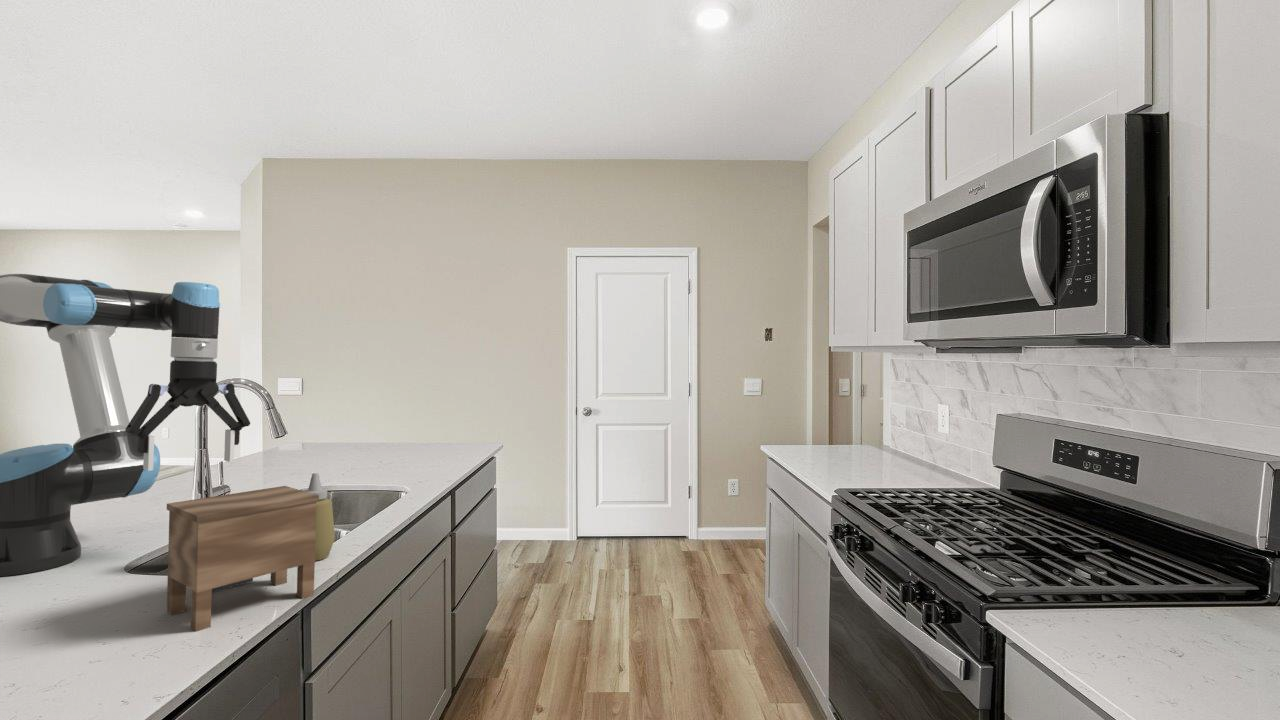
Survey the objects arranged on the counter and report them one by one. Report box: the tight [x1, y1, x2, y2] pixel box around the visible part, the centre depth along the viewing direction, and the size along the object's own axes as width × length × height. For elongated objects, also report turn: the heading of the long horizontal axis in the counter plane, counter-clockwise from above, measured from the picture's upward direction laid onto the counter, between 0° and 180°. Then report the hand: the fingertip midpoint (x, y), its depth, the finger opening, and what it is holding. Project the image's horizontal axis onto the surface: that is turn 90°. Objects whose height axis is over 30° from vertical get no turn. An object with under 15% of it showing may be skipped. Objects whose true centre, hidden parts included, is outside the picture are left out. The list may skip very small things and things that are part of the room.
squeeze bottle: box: [304, 472, 336, 562], centre depth 126 cm, size 8×8×18 cm
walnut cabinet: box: [166, 485, 319, 632], centre depth 102 cm, size 13×19×18 cm
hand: (190, 465), depth 118 cm, fingers open, 13 cm apart
